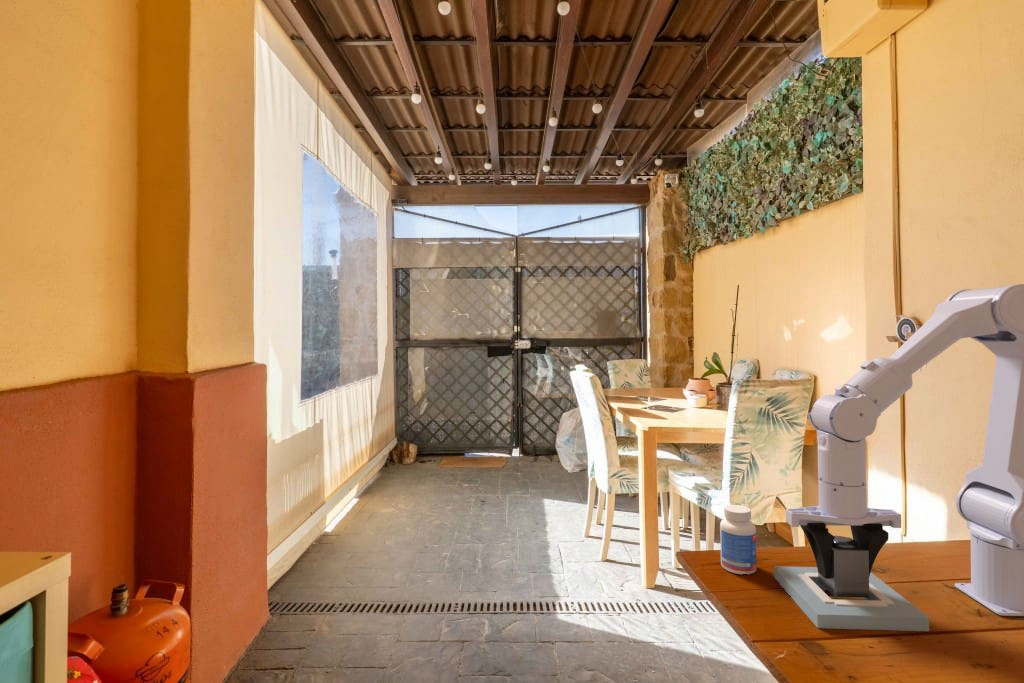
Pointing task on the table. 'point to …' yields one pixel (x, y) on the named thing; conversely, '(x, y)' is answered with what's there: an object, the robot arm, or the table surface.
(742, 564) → the pill bottle
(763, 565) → the table surface
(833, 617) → the mount plate
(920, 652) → the table surface
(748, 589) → the table surface
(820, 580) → the lens block
